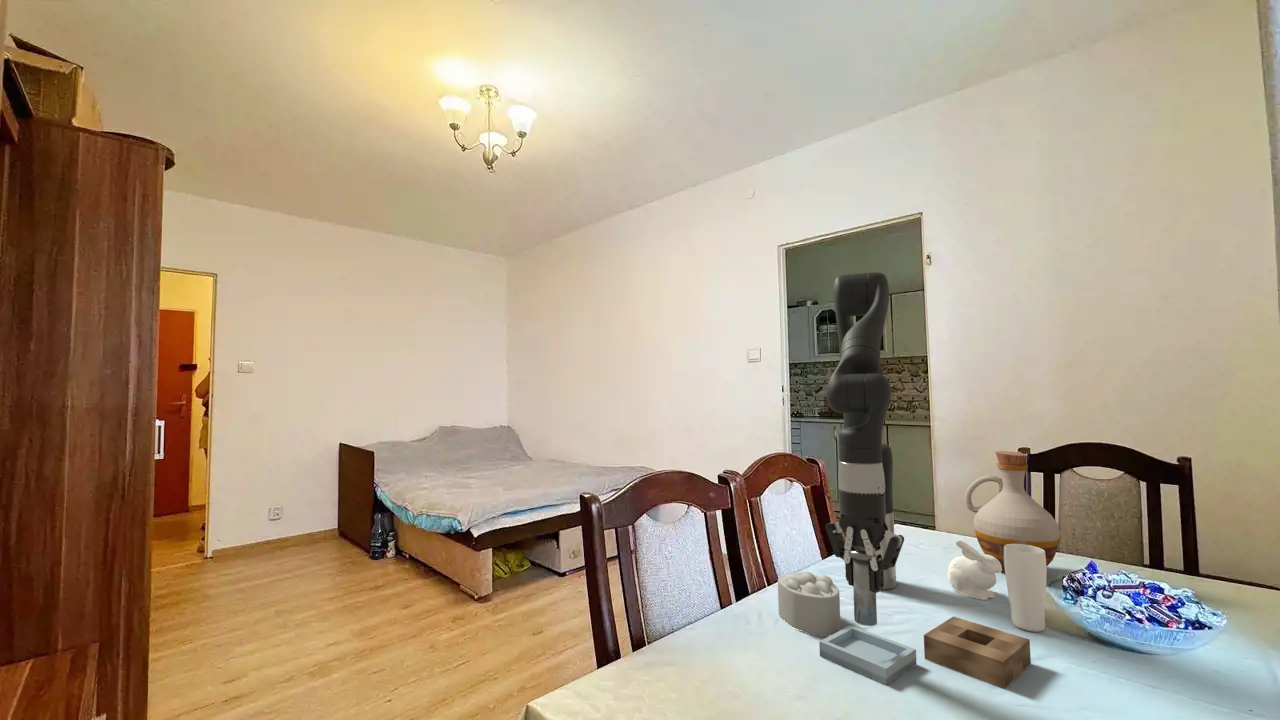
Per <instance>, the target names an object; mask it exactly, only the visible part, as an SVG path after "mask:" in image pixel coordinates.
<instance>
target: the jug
mask: <svg viewBox="0 0 1280 720" xmlns="http://www.w3.org/2000/svg"><path fill="white" fill-rule="evenodd" d="M995 454H996V457H997V460H998V462H997V463H996V467H997V469H998V471H999V473H1000V477H998V476H997V475H983V476H982V477H979V478H977V479H975V480H974V481H972V482H971V483H970V484H969V485H968V487H967V489H966V491H965V494H964V503H965V505H966V508H967V509H968V510H969V511H970V512H972V513H975V514H974V519H973V526H974V527H973V528H974V533H975V536H976V539H977V542H978V544H979V546H980V548H981V550H982V552H983V553H984V554H986V555H991V556H993V557H995V558H996V559H997V560H998V561H999V562H1000V563H1001V567H1002V571H1001V572H1000V573H1001V574H1004V575H1005V567H1004V546H1005V545H1007V544H1023V545H1030V546H1034V547H1038V548H1041V549H1043V550H1044V551H1045V555H1046V566H1047V567H1048V566H1049V565H1050V564H1051V563H1052V562H1053V560H1054V558H1055V556H1056V553H1057V552H1058V547H1059V544H1060V538H1061V537H1060V536H1061V535H1060V534H1061V531H1060V528H1059V525H1058V522H1057V521H1056V520H1055V518H1054V517H1053V515H1052V514H1051V513H1050V512H1049V511H1048V510H1046V509H1045V508H1044V507H1043V506H1042V505H1040V504H1039V503H1038V502H1037V501H1036V500H1035V499H1033V498H1032V497H1031V496H1030V495H1029V494H1028V493H1027V492H1026V490H1025V475H1026V471H1028V467H1029V465H1028V464H1026V462H1027V459H1028V456H1029V455H1028V454H1026V453H1023V452H1022V453H1021V452H1015V451H1007V450H996V451H995ZM987 482H994V483H997V484H998V485H999V487H998V488H999V490H998V493H996V495H994V496H993V497H992V498H991V499H990V500H988V501H986V502H984V504H983V505H980V506H974V504H973V503H972V496H973V493H974V491H975V490H976V488H978V487H979V486H980V485H982V484H984V483H987Z"/></svg>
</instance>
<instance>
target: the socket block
mask: <svg viewBox="0 0 1280 720" xmlns="http://www.w3.org/2000/svg"><path fill="white" fill-rule="evenodd" d="M1030 640H1031V639H1029V638H1026V637H1024V636H1020V635H1016V634H1013V633H1010V632H1006V631H1003V630H1000V629H997V628H994V627H991V626H987V625H984V624H981V623H977V622H974V621H970V620H967V619H963V618H960V617H958V616H952V617H950V618H948V619H947V620H945V621H944V622H942V623H941V624H939V625H937V626H936V627H934V628H933V629H931V630H929V631H928V632H926V633H925V634H923V651H924V652H923V653H924V660H927V661H930V662H932V663H936V664H937V665H940V666H943V667H945V668H948V669H950V670H954V671H956V672H959V673H962V674H965V675H968V676H970V677H972V678H975V679H977V680H981V681H983V682H986V683H988V684H992V685H994V686H996V687H999V688H1002V689H1006V688H1007V687H1008V686H1009V685H1010V684H1011V683H1012V682H1013V681H1014V680H1015V679H1017V678H1018V676H1020V675H1021V674H1022V673H1023V672H1024V671H1025V670H1026V669H1027V668H1028V667H1029V666H1030V665H1031V664H1032V660H1031V643H1030V642H1031V641H1030Z"/></svg>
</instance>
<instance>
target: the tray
mask: <svg viewBox="0 0 1280 720" xmlns="http://www.w3.org/2000/svg"><path fill="white" fill-rule="evenodd" d="M818 644H819V656H820V657H821V658H823V659H826V660H828V661H830V660H831V662H833V663H835V664H837V665H839V664H840V665H839V666H842V667H844V668H846V669H848V670H851V671H853V672H856V673H858V674H860V675H863V676H865V677H867V678H870V679H871V680H875V681H877V682H879V683H881V684H884V685H886V686H887V685H889V684H890V683H892V682H894V681H896V680H897V679H898V678H899V677H901V676H902V675H904V674H905V673H906V672H908V671H909V670H911V669H912V668H914V667H915V666H916V665H917V649H916V648H914V647H911V646H908V645H905V644H902V643H900V642H898V641H894V640H893V639H889V638H887V637H884V636H881V635H878V634H875V633H872V632H870V631H867V630H865V629H861V628H859V627H856V626H853V625H848V626H846V627H845V628H843V629H842V628H841V630H840V631H838V632H837V633H835V634H833V635H831V636H826V637H825V638H823V639H821V640H819V643H818Z"/></svg>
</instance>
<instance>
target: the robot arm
mask: <svg viewBox="0 0 1280 720" xmlns="http://www.w3.org/2000/svg"><path fill="white" fill-rule="evenodd" d="M889 301H890V289H889V281H888V278H887V276H886V275H885V273H883V272H878V271H877V272H876V271H873V272H862V273H861V272H860V273H847V274H841V275H838V276H837V277H835V280H834V282H833V302H834V303H833V304H834V311H835V312H834V313H835V319H836V329H837V336H838V338H837V339H838V346H839V347H838V348H839V351H838V352H839V362H838V365H837V366H836V368H835V369H834V371H833V372H832V374H831V376H830V378H829V380H828V382H827V385H826V389H825V397H826V398H825V399H826V402H827V405H828V406H829V408H830V409H831V410H832V411H833V412H835V413H838V414H843V428H842V429H841V430H839V433H838V461H839V462H838V472H837V474H838V475H837V476H838V477H837V478H838V479H837V480H838V482H837V483H838V507H839V509H838V510H839V513H840V517H839V519H838V521H831V522H828V523H826V524H825V531H826V533H827V535H828V539H829V542H830V544H831V548H832V550H833V555H834V557H836V558H840V559H841V560H843V562H844V564H845V565H844V566H845V567H844V568H845V579H846V582H847V583H848V585H849V586H851V587H853V560H852V558H851V557H850V556H849V550H853V549H856V548H859V547H863V548H865V550H866V554H867V555H868V556H870V557H871V558H872V561H870V564H871V568H872V570H870V578H871V591H872V592H874V593H876V594H877V593H879V592H881V591H882V590H889V589H890V590H891V589H894V588H895V587H897V572H896V567H897V566H896V565H897V561H898V559H899V557H900V554H901V553H900V552H901V550H902V548H903V545H904V541H905V537H904V535H902V534H895V522H894V521H895V518H894V515H895V514H894V502H893V501H894V499H893V497H894V496H893V472H894V470H893V469H894V465H893V464H894V462H893V461H894V460H893V459H894V458H893V452H892V448H891V447H890V446H889V445H888V444H887V443H882V442H883V441H882V439H883V437H882V436H883V428H884V423H885V418H886V416H887V412H888V408H889V406H890V405H889V404H890V401H891V395H892V387H891V384H890V382H889V380H888V378H886V376H885V375H884V369H883V366H882V364H881V346H882V345H881V344H882V336H883V331H884V328H885V324H886V319H887V314H888V310H889V303H890V302H889ZM860 316H861V317H862V318H861V319H859V320H858V321H857V322H856V323H854V322H853V318H852V317H860ZM842 532H843V533H842ZM843 534H844V536H845V540H844V537H843ZM877 555H878V559H877Z"/></svg>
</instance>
